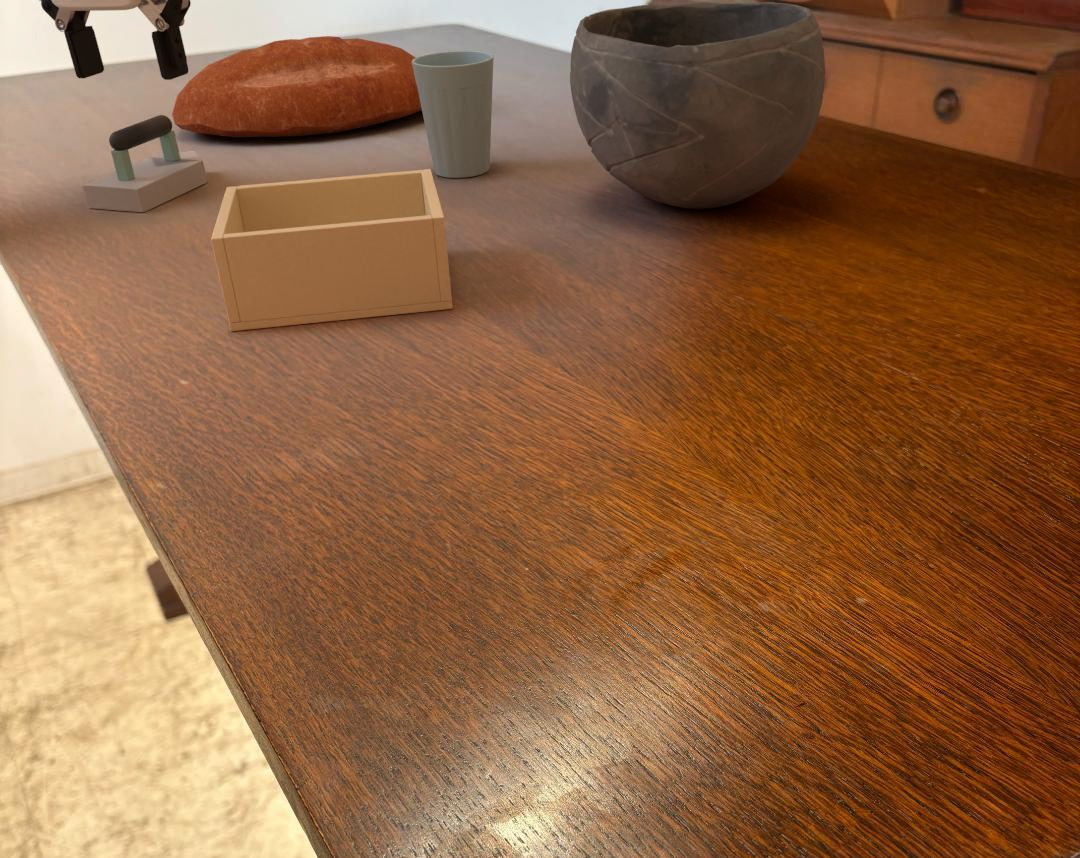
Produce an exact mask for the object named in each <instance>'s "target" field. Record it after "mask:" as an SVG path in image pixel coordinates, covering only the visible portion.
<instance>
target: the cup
mask: <svg viewBox="0 0 1080 858" xmlns="http://www.w3.org/2000/svg"><path fill="white" fill-rule="evenodd" d="M412 65H413V70H414V75H415V80H416V84H417V88H418V93H419V98H420V103H421V108H422V110H421V112H422V113H421V114H422V117H423V123H424V126H425V132H426V138H427V143H428V147H429V153H430V157H431V162H432V166H433V171H434V174H435V175H437V176H439V177H443V178H446V179H447V178H449V179H464V178H472V177H477V176H481V175H484V174H485V173H487V172H489V171H490V166H491V143H492V140H491V139H492V114H493V113H492V109H493V83H494V82H493V81H494V80H493V79H494V55H493V54H492V53H489V52H486V51H479V50H452V51H451V50H450V51H449V50H448V51H440V52H434V53H433V52H432V53H427V54H423V55H420V56H417V57H416V58H415V59H413V60H412Z"/></svg>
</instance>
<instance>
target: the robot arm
mask: <svg viewBox="0 0 1080 858" xmlns="http://www.w3.org/2000/svg"><path fill="white" fill-rule="evenodd" d="M38 1H39V2H40V5H41V8H42V10H43V11H44V12H45V13H46V14H47V15H48V16H49V17H50V18H51V19H52V20H53V21H54V25H55V27H56V29H57V30H58V31H59V32H62V33H64V37H65V41H66V44H67V48H68V50H69V54H70V58H71V62H72V65H73V70H74V72H75V75H76V77H77V78H78V79H86V78H91V77H93V76H96V75H99V74H101V73H104V71H105V66H104V62H103V59H102V55H101V52H100V48H99V44H98V40H97V37H96V33H95V30H94V28H93V25H87V21H88V19H89V16H90V13H91V12H93V11H94V12H96V11H100V12H101V11H104V12H105V11H128V10H133V9H135V8H137V9H138V10H140V12H141V13H142V14H143V15H144V16H145V17H146V18H147V19H148V21H149V22H150V24H152V25H153V26H154V28H155V29H156V30H154V31H151V40H152V43H153V47H154V48H153V49H154V52H155V56H156V61H157V64H158V68H159V72H160V77H161V78H162V79H163V80H165V81H171V80H174V79H176V78H179V77H182V76H185V75H187V74H188V73H189V65H188V59H187V54H186V50H185V45H184V41H183V37H182V31H181V28H180V27H182V26H184V24H185V16H186V14H187V12H188V11H189V9H190V7H191V4H192V3H191V0H38Z"/></svg>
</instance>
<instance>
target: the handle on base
mask: <svg viewBox="0 0 1080 858" xmlns="http://www.w3.org/2000/svg"><path fill="white" fill-rule="evenodd" d="M156 139H159V142H160V147H161V150H162V154H160V155H155V156H153V155H152V156H149V157H147V158H144V159H142V160H139V161H137V162H135V163H132V159H131V156H130V151H129V150H130V149H133V148H136V147H139V146H140V145H144V144H146V143H148V142H151V141H153V140H156ZM108 142H109V145H110V147H111V148H112V149H113V150H110V153H111V157H112V161H113V165H114V169H115V171H112V172H109V173H108V174H105V175H103V176H100V177H98V178H96V179H93V180H91V181H89V182H86V183H84V184H82V189H83V193H84V197H85V201H86V204H87V208H88V209H96V210H107V211H119V212H130V213H131V212H132V213H145V212H147V211H150V210H152V209H154V208H156V207H158V206H160V205H162V204H165V203H167V202H169V201H171V200H173V199H175V198H177V197H179V196H182V195H184V194H186V193H188V192H190V191H193V190H195V189H196V188H199V187H201V186H203V185H205V184H207V183H208V178H207V174H206V169H205V164H204V160H203V159H202V157H201V156H200V155H199V153H198V152H197V150H189V151H182V152H181V151H180V150H179V146H178V141H177V137H176V133H175V130H173V122H172V120H171V119H170V117H168V116H166V115H164V114H157V115H156V116H153V117H151V118H148V119H145V120H143V121H140V122H137V123H134V124H132V125H129V126H126V127H123V128H120V129H118V130H116V131H113V132H111V134H110V135H109V138H108Z"/></svg>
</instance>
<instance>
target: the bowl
mask: <svg viewBox="0 0 1080 858" xmlns="http://www.w3.org/2000/svg"><path fill="white" fill-rule="evenodd" d="M570 55H571V56H570V72H569V86H570V91H571V98H572V105H573V109H574V113H575V116H576V120H577V123H578V126H579V128H580V130H581V133H582V135H583V137H584V140H585V141H586V143H587V145H588V147H590V148H591V154H593V156H594V158H596V160H597V161H598V163H599V164H600V165H601V167H602V168H603V169H604V170H605V171H606V172H608V173H609V175H610V176H612V177H613V178H614V179H616V180H617V181H619V182H620V183H621V184H623V185H625V186H626V187H627V188H628V189H630V190H631V191H633V192H635V193H636V194H638V195H640V196H642V197H644V198H646V199H649V200H652V201H655V202H658V203H662V204H665V205H669V206H673V207H676V208H683V209H688V210H689V209H690V210H691V209H692V210H706V209H716V208H721V207H725V206H729V205H733V204H735V203H737V202H740V201H743V200H745V199H747V198H750V197H752V196H753V195H755V194H756V193H758V192H760V191H762V190H764V189H765V188H768V187H770V186H771V185H772V184H774V183H775V182H776V181H777V180H778V179H780V178H782V177H783V175H784V174H785V173H786V172H787V171H788V169H789V168H790V167H791V166H792V165H793V164H794V162H795V161H796V160H797V158H798V157H799V156H800V155H801V153H802V152H803V151H804V149H805V147H806V146H807V144H808V142H809V140H810V137H811V136H812V133H813V131H814V130H815V127H816V124H817V121H818V119H819V116H820V112H821V109H822V105H823V99H824V92H825V90H824V89H825V82H826V76H825V75H826V62H825V50H824V43H823V36H822V31H821V28H820V25H819V22H818V19H817V18H816V16H815V14H814V12H813V11H812V10H811V9H810V8H808V7H805V6H801V5H798V4H792V3H783V2H773V1H765V2H731V1H730V2H729V1H698V2H683V3H674V4H673V3H672V4H657V5H656V4H651V5H650V4H641V5H640V4H639V5H633V6H628V7H621V8H620V7H619V8H610V9H606V10H605V9H604V10H601V11H598V12H595V13H591V14H589V15H587V16H584V17H583V18H582V19H580V21H579V23H578V25H577V28H576V31H575V36H574V38H573V42H572V47H571V53H570Z"/></svg>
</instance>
